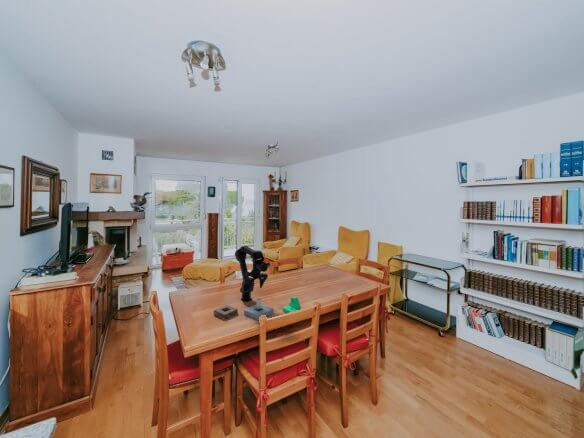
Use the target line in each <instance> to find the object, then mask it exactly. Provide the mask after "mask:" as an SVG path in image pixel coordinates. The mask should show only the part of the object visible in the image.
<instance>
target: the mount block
mask: <svg viewBox="0 0 584 438" xmlns="http://www.w3.org/2000/svg"><path fill="white" fill-rule="evenodd" d="M238 312H239V310H238V308H236V307H234V306H230V305H228V304H225V305H223V306H220V307H218V308H215V309H214V310H213V315H214V316H216V317H218V318H220V319H223V320H226V319H228V318H232V317H233V316H235V315H238Z"/></svg>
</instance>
